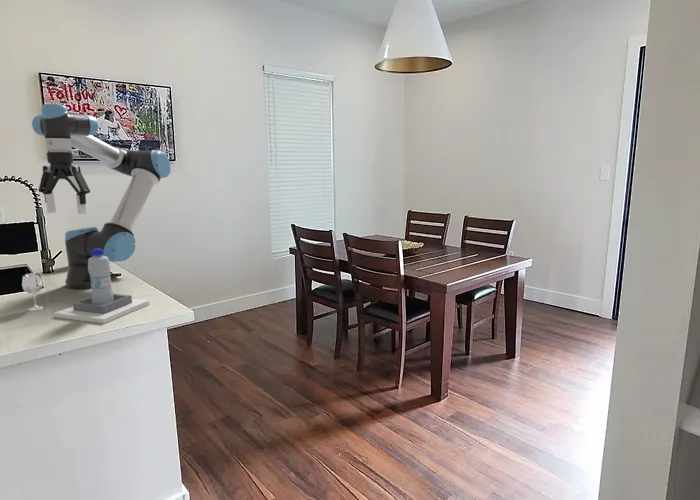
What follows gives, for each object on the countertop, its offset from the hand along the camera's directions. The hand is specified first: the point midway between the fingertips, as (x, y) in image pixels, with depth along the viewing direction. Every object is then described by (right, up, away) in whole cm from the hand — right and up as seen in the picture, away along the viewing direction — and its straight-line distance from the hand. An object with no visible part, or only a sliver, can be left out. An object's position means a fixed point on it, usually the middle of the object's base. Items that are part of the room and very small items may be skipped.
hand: (66, 213), depth 159 cm
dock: (+16, -33, -6) cm, 38 cm away
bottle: (+16, -32, -6) cm, 37 cm away
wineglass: (-8, -33, -4) cm, 34 cm away
